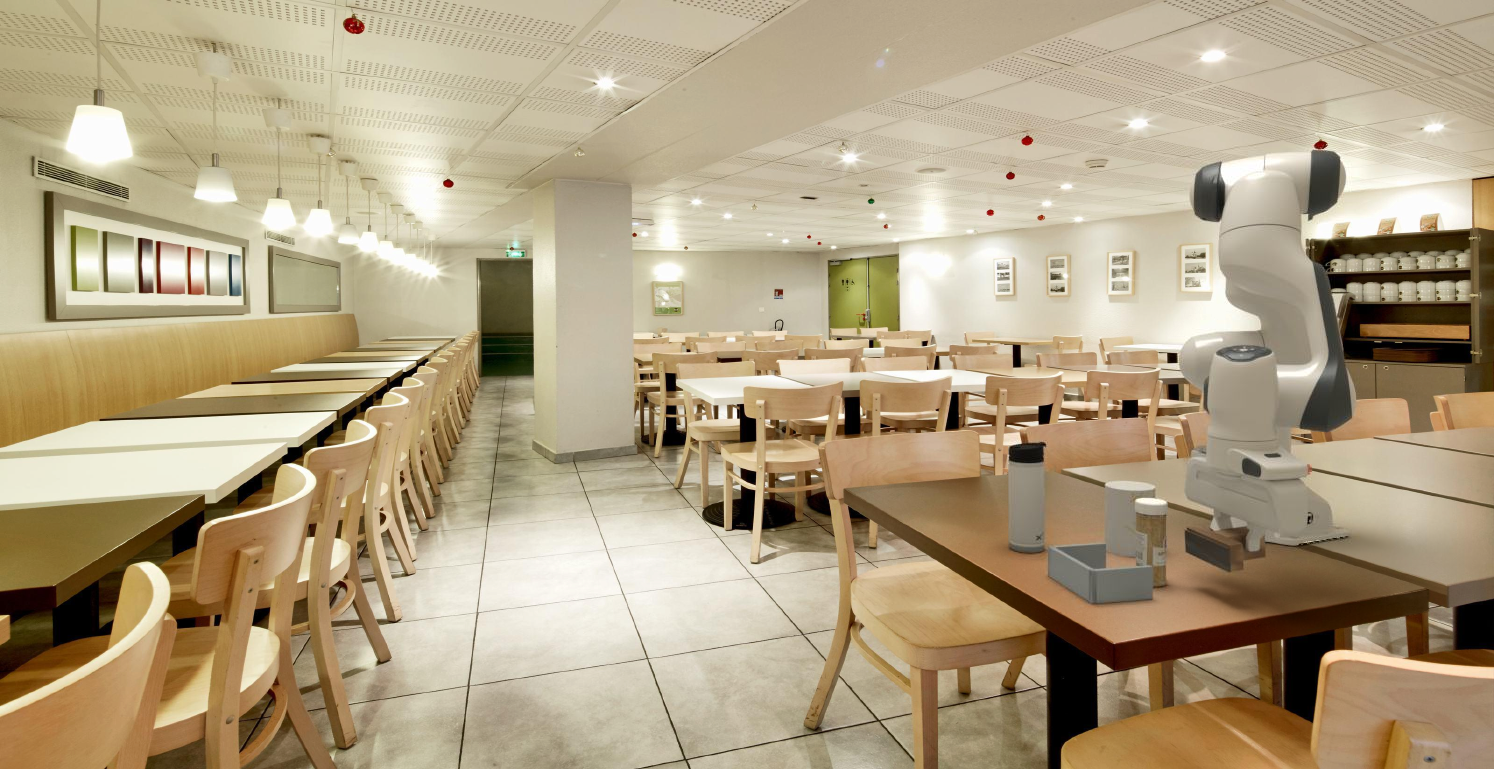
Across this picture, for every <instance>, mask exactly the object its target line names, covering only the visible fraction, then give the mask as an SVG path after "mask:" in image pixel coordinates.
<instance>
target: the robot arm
mask: <svg viewBox="0 0 1494 769" xmlns="http://www.w3.org/2000/svg"><path fill="white" fill-rule="evenodd" d="M1345 168H1346V167H1345V165H1344V163H1343V161H1341V156H1340V155H1339V154H1338V153H1337V152H1336V151H1334V150H1327V149H1312V150H1311V151H1287V152H1286V151H1283V152H1273V153H1265V154H1264V155H1256V156H1249V157H1244V158H1239V159H1234V160H1229V161H1225V162H1222V161H1216V162H1213V163H1210V164H1207V165H1204V166H1202V167H1201V168H1200V169H1199V170H1198V171H1197V172H1196V173H1195V176H1194V179H1193V181H1192V183H1191V186H1190V188H1189V189H1190V190H1189V203H1190V205H1191V208H1192V210H1193V213H1194V215H1195V216H1196V217H1197V218H1198V219H1200V220H1201V221H1205V222H1211V223H1220V226H1219V234H1218V253H1217V254H1218V264H1219V269H1220V271H1221V273H1222V275H1223V276H1224V277H1225V288H1224V289H1225V291H1224V292H1225V293H1224V294H1225V297H1226V299H1227V301H1228V302H1229V303H1230V305H1231V306H1233V307H1235V308H1236V309H1239V310H1241V311H1243V312H1245V313H1248V314H1251V315H1254V316H1256V317H1258V319H1259V321H1260V329H1257V330H1236V331H1235V330H1234V331H1215V332H1210V333H1204V334H1199V335H1196V336H1195V335H1194V336H1191V337H1190V338H1188V339H1187V341H1186V342H1185V343H1184V344H1183V346H1182V347H1181V350H1180V351H1179V354H1178V355H1179V356H1178V366H1179V370H1180V372H1181V374H1182V376H1183V378H1184V379H1185V380H1186V381H1187V382H1188V383H1189V384H1191V385H1192V386H1194V387H1195V388H1197V389H1198V390H1200V391H1201V392H1202V393H1203V402H1202V403H1203V404H1202V406H1203V410H1204V411H1205V413H1207V414H1208V415H1209V425H1208V427H1207V431H1206V445H1203V444H1199V445H1197V446H1196V447H1194V448H1193V450H1191V452H1190V459H1189V460H1188V462H1187V466H1186V470H1185V471H1186V472H1185V478H1184V479H1185V480H1184V494H1185V497H1186V498H1187V501H1189V502H1193V503H1196V504H1199V505H1201V506H1203V507H1206V508H1210V509H1211V510H1213V518H1212V521H1211V524H1210V526H1209V527H1210V530H1211V529H1212V530H1211V531H1217V530H1223V529H1230V528H1237V527H1243V526H1247V528H1248V529H1250V530H1249V532H1248V534H1247V536H1246V537H1241V542H1242V543H1243V548H1244V549H1246V550H1248V551H1258V550H1259V549H1260V539H1261V538H1262V537H1263V535H1264V534H1265V543H1275V544H1278V545H1279V544H1280V545H1287V546H1299V543H1301V542H1306V541H1307V542H1308V541H1316V540H1324V539H1331V538H1337V539H1341V538H1340V537H1343V538H1346V537H1345V536H1348V537H1349V531H1348V530H1347V529H1345V528H1344V527H1342V526H1340V525H1337V524H1334V520H1333V511H1332V508H1331V505H1330V503H1329V502H1328V501H1327V500H1326V499H1325V498H1323V497H1322V496H1321V495H1319V494H1317V493H1316V492H1315V491H1314V490H1312V489H1311V488H1310V487H1308V486H1307V485H1306V484H1305V482H1304V481H1303V480H1302V479H1303V478H1306V477H1307V476H1308V475H1311V473H1313V467H1312V465H1311V464H1307V463H1306V462H1305V461H1303V460H1302V459H1300V458H1298V457H1297V456H1296V455H1294V454H1292V428H1294V429H1300V430H1307V431H1313V432H1319V433H1321V432H1322V433H1329V432H1331V431H1334V430H1336V429H1338V428H1340V427H1341V426H1343V425H1345V424H1346V423H1348V422H1349V421H1350V420H1352V419H1353V415H1354V413H1355V411H1356V406H1357V394H1356V389H1355V384H1354V382H1353V379H1352V376H1351V375H1350V371H1349V370H1348V367H1347V365H1346V364H1347V363H1346V359H1345V354H1344V347H1343V340H1342V336H1341V331H1340V326H1339V325H1340V324H1339V321H1338V315H1337V308H1336V304H1335V303H1336V302H1335V300H1334V296H1333V293H1332V288H1331V283H1330V279H1329V276H1328V273H1327V271H1326V269H1325V268H1324V266H1323V265H1322V264H1321V263H1318V262H1315V261H1312V260H1311V259H1310V258H1309V257H1308V254H1306V252H1305V250H1304V248H1303V244H1302V228H1303V227H1302V226H1303V225H1302V215H1308V216H1307V221H1308V222H1309V221H1312V220H1313V218H1314V216H1317V215H1320V214H1322V213H1325V212H1327V211H1329V210H1330V209H1331V208H1332V207H1334V206H1335V205H1337V203H1338V200H1339V198H1341V196H1342V193H1343V192H1344V189H1345V187H1346V183H1347V182H1346V181H1347V173H1346V172H1347V171H1346V169H1345ZM1331 540H1332V539H1331Z"/></svg>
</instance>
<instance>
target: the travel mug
mask: <svg viewBox="0 0 1494 769" xmlns="http://www.w3.org/2000/svg"><path fill="white" fill-rule="evenodd" d="M1045 448H1047V443H1045V442H1044V441H1039V442H1022V443H1016V444H1012V445H1009V448H1008V461H1007V462H1008V463H1007V464H1008V465H1007V466H1008V472H1007V473H1008V548H1010V549H1011V550H1013V551H1014V552H1018V553H1024V554H1025V553H1026V554H1035V553H1041V552H1043V551H1044V550H1045V549H1046V548H1045V547H1046V544H1045V543H1046V542H1045V539H1046V536H1045V535H1046V533H1045V528H1046V527H1045V522H1046V521H1045V517H1046V516H1045V515H1046V514H1045V512H1046V510H1045V503H1046V502H1045V498H1046V497H1045V452H1044V451H1045V450H1044V449H1045Z"/></svg>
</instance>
